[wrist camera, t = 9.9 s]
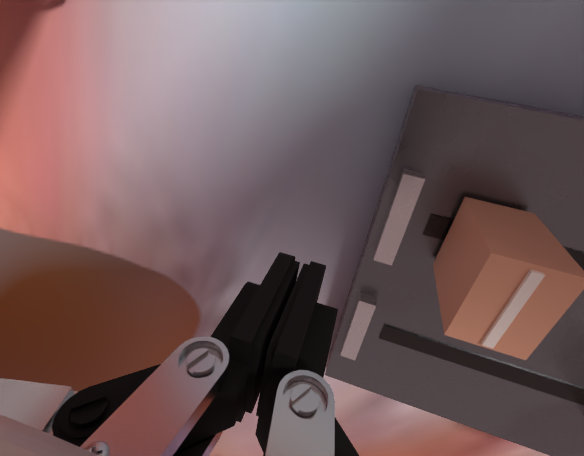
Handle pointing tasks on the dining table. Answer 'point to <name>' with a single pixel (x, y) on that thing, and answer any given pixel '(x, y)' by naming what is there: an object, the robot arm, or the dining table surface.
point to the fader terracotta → (503, 278)
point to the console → (421, 280)
